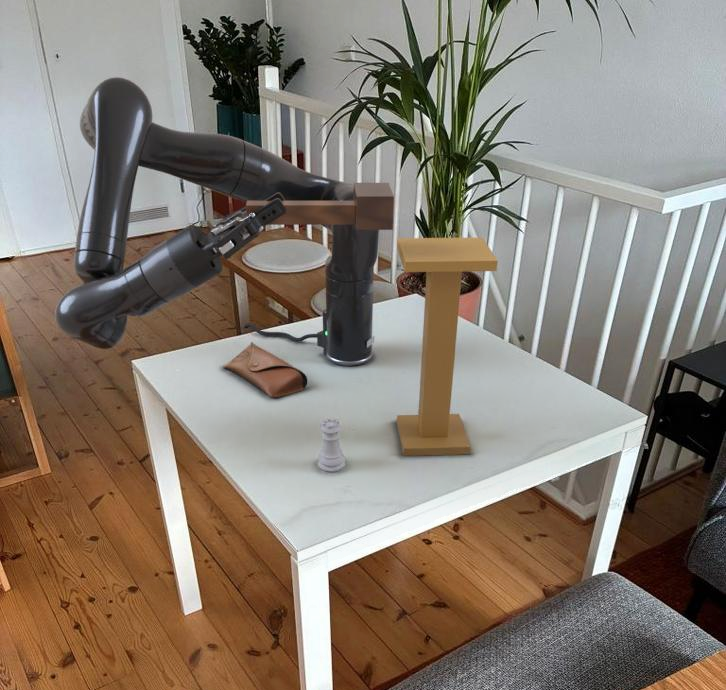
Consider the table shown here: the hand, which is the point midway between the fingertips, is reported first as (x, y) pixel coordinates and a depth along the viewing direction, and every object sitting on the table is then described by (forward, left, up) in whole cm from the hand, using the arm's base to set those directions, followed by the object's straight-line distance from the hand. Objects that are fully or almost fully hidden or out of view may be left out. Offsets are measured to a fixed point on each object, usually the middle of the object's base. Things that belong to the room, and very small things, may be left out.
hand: (282, 201), depth 101 cm
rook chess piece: (+10, -1, -39) cm, 40 cm away
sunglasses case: (-22, +12, -39) cm, 46 cm away
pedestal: (+16, +16, -39) cm, 45 cm away
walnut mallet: (+4, +4, -3) cm, 6 cm away
